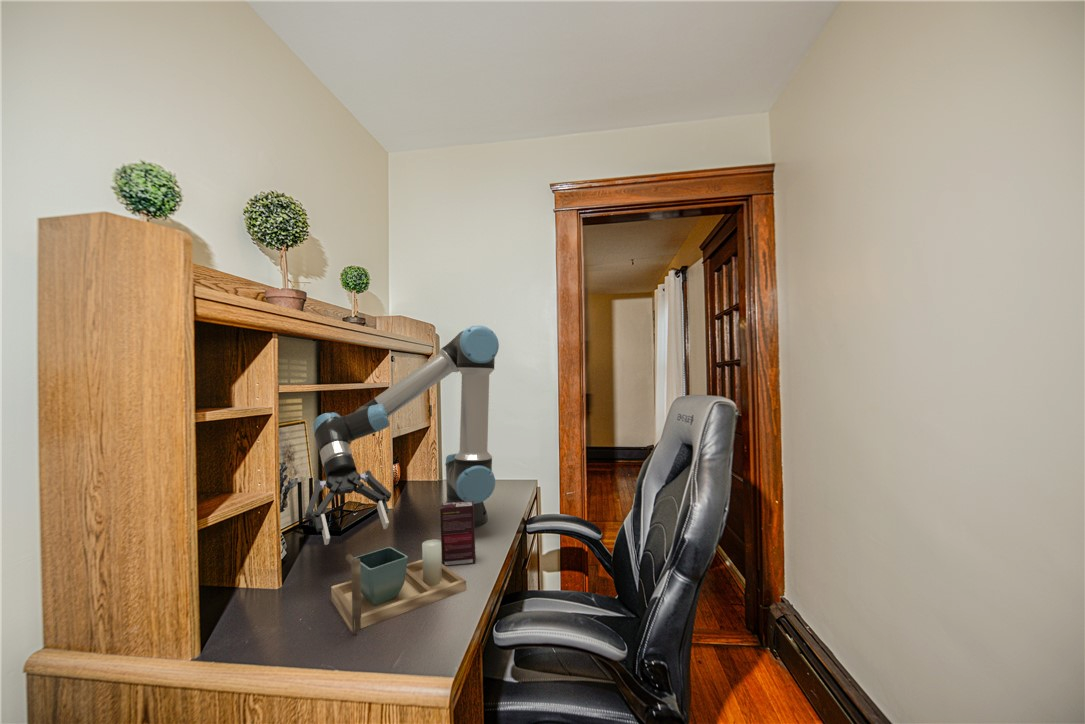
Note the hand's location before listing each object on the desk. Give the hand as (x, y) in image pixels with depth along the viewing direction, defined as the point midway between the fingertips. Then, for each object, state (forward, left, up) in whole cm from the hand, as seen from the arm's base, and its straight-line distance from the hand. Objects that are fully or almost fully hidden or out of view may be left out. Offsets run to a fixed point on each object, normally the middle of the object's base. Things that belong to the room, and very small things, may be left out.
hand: (358, 533), depth 106 cm
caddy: (-5, +13, -12) cm, 18 cm away
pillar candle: (-13, +13, -11) cm, 21 cm away
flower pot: (-1, +13, -11) cm, 17 cm away
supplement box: (-23, +7, -12) cm, 27 cm away
